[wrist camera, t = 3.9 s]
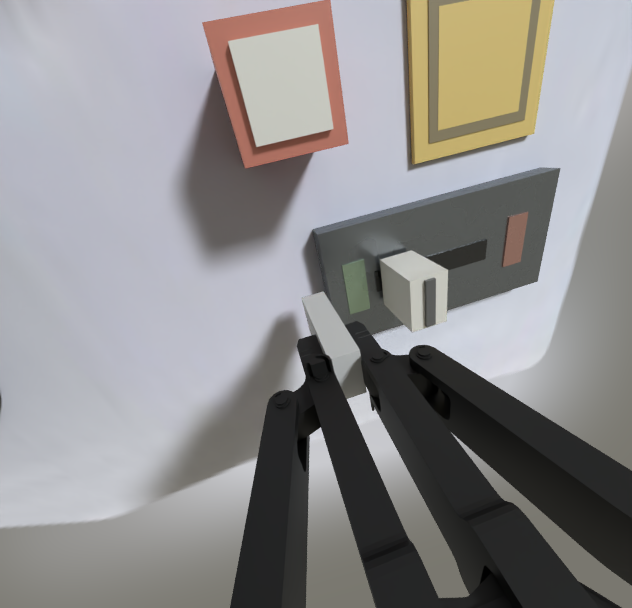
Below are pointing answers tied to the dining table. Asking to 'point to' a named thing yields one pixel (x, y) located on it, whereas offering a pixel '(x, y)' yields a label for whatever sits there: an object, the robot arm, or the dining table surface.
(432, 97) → the pad
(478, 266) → the breaker panel
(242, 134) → the cap
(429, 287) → the switch
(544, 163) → the dining table surface
